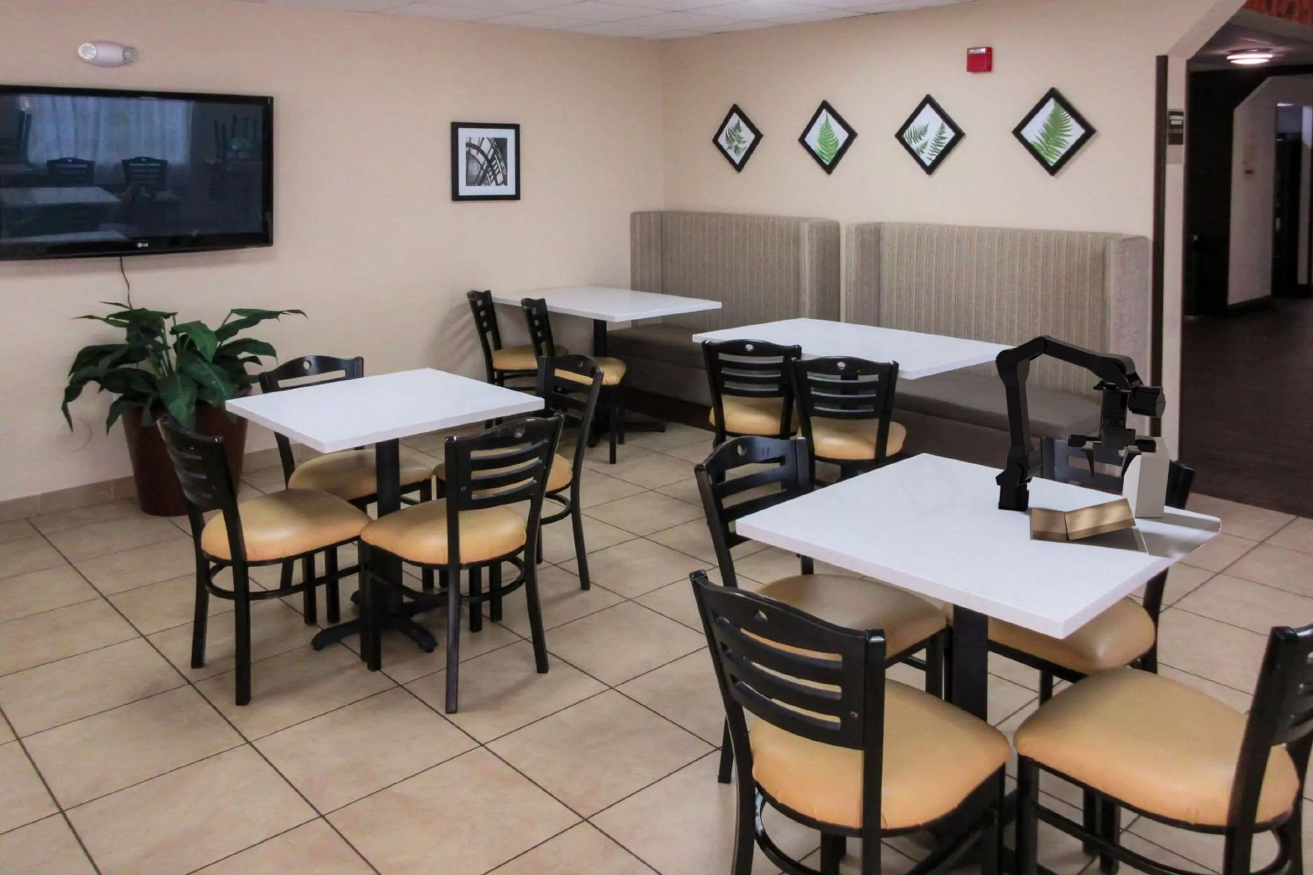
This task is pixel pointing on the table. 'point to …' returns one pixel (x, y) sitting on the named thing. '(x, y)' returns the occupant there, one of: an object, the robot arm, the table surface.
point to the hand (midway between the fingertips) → (1106, 477)
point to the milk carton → (1147, 481)
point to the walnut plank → (1048, 525)
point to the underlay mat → (1101, 538)
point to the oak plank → (1099, 519)
